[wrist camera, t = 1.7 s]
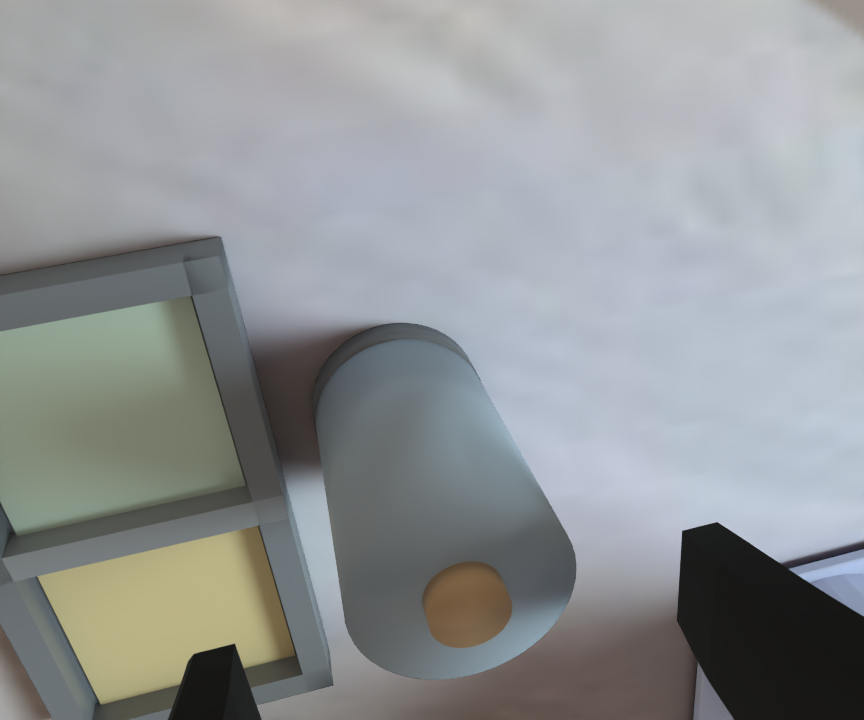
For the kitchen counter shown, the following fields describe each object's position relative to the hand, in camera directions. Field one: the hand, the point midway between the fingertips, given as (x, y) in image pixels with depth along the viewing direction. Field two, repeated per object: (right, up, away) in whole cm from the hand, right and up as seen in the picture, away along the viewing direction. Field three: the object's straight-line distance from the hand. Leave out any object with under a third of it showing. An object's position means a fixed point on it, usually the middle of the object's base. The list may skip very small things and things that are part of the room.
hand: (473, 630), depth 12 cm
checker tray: (-8, +1, +6) cm, 10 cm away
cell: (-2, +3, +6) cm, 7 cm away
